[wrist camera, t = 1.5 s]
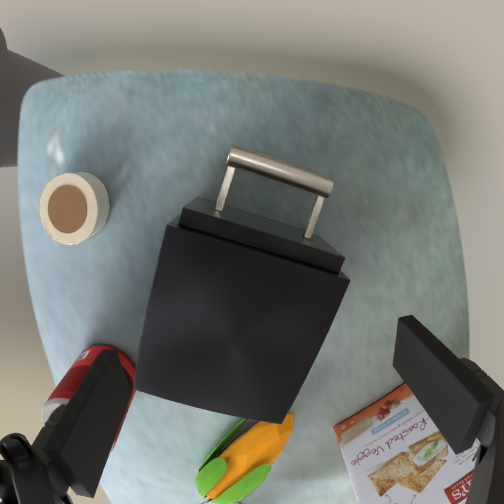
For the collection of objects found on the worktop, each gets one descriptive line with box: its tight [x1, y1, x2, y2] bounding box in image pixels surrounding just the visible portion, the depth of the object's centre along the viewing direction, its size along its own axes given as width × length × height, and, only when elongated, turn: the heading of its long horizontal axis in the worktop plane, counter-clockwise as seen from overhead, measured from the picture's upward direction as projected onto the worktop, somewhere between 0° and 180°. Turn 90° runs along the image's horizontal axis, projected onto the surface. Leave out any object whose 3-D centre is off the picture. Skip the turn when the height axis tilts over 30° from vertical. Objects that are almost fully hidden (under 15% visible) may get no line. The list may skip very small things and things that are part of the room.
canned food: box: [41, 344, 136, 455], centre depth 28 cm, size 8×8×11 cm
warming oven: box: [133, 214, 350, 424], centre depth 26 cm, size 14×13×10 cm
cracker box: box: [334, 383, 480, 504], centre depth 26 cm, size 14×6×21 cm, turn 125°
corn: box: [196, 412, 294, 504], centre depth 33 cm, size 7×8×20 cm
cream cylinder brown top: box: [40, 172, 110, 245], centre depth 27 cm, size 7×7×3 cm
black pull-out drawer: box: [178, 145, 345, 273], centre depth 26 cm, size 18×11×8 cm, turn 162°
